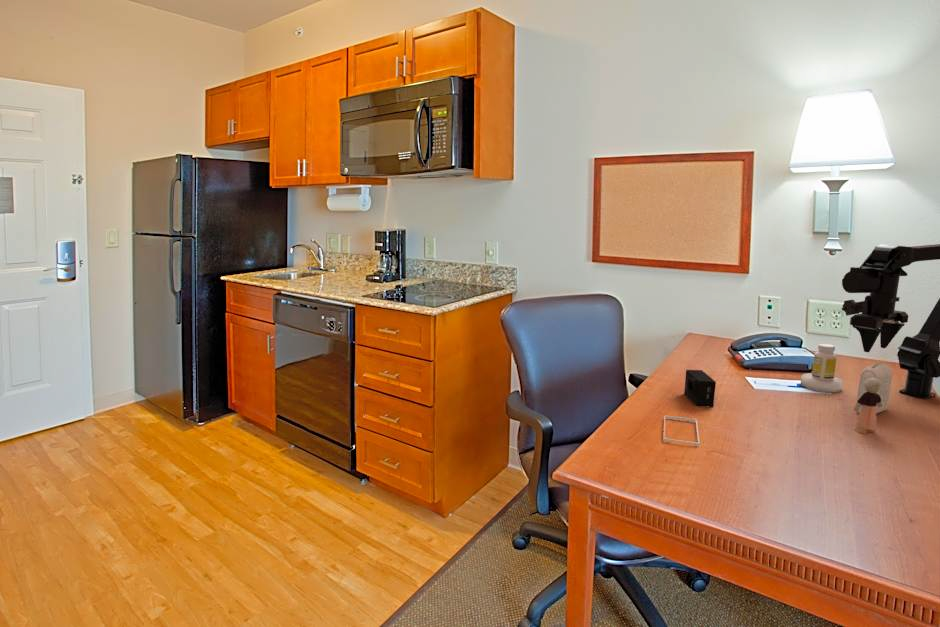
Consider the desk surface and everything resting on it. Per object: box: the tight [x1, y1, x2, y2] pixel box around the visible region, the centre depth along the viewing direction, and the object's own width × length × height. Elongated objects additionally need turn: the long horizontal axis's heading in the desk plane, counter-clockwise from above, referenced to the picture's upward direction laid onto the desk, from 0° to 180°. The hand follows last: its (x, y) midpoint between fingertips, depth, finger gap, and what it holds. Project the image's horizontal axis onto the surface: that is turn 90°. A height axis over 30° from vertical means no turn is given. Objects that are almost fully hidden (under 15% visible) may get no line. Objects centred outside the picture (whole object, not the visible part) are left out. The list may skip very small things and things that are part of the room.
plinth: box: [800, 372, 843, 393], centre depth 162 cm, size 10×10×2 cm
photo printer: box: [855, 362, 894, 414], centre depth 142 cm, size 10×4×12 cm, turn 123°
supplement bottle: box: [811, 343, 837, 381], centre depth 161 cm, size 5×5×10 cm
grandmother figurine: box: [853, 378, 882, 435], centre depth 129 cm, size 8×4×13 cm, turn 117°
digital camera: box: [683, 369, 717, 408], centre depth 149 cm, size 10×5×7 cm, turn 177°
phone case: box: [662, 415, 700, 447], centre depth 129 cm, size 7×1×15 cm
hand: (874, 349), depth 152 cm, fingers open, 9 cm apart
